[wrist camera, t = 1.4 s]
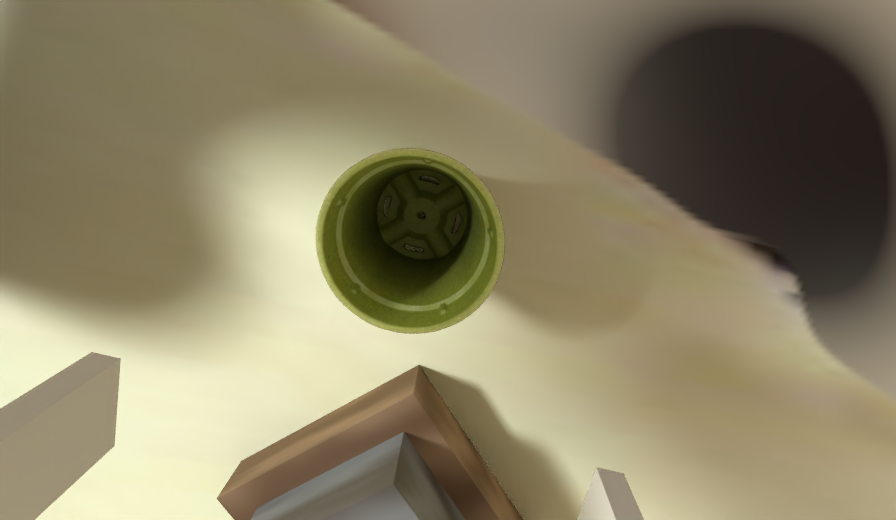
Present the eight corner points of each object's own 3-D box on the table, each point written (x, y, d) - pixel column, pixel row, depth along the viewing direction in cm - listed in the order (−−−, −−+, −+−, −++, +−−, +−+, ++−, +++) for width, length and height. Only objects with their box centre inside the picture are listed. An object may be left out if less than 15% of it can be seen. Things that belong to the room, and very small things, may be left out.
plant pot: (510, 158, 32) (525, 171, 24) (477, 295, 35) (481, 350, 27) (365, 126, 32) (330, 129, 24) (342, 267, 35) (303, 313, 26)
